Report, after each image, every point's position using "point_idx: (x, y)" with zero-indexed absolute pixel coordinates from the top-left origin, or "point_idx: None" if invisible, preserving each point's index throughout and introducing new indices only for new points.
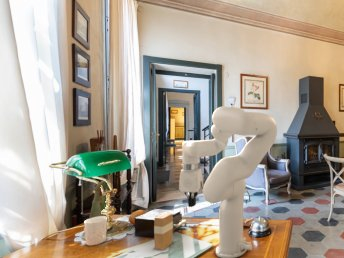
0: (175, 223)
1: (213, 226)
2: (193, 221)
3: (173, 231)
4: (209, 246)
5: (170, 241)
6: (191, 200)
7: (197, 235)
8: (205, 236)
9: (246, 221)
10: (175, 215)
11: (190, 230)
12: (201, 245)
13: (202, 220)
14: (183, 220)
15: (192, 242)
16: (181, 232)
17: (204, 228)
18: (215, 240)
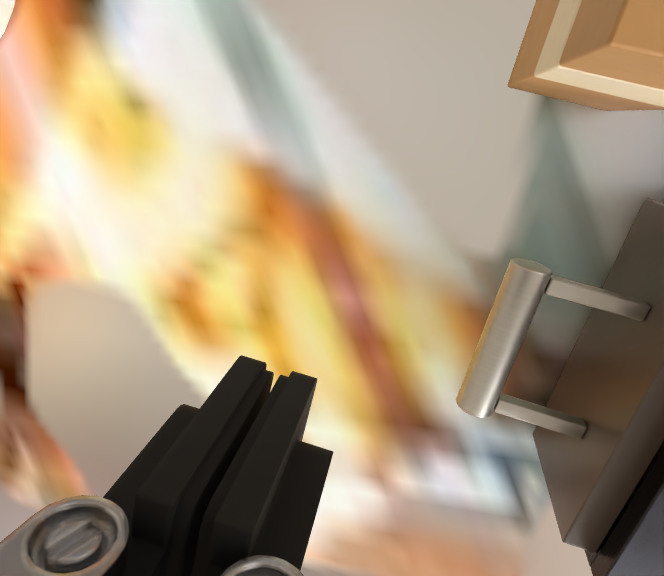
0: (592, 386)
1: None
2: (460, 540)
3: None
4: (114, 11)
5: (525, 43)
6: (171, 456)
7: (311, 246)
8: (230, 220)
9: (22, 461)
10: None
11: (420, 358)
12: (193, 31)
13: (381, 544)
14: (487, 390)
15: (302, 97)
16: None
17: None
18: (112, 135)
